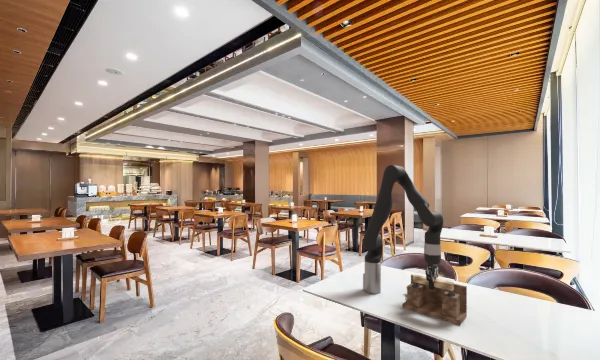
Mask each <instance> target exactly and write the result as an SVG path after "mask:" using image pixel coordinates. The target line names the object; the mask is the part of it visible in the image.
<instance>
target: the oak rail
mask: <svg viewBox="0 0 600 360" xmlns="http://www.w3.org/2000/svg"><path fill="white" fill-rule="evenodd" d="M412 275H413V287H415V288H417V287H418V283H420V284H424V285H429V281H427V279H426V275H425V276H424V275H419V274H412ZM430 279H431V278H430ZM454 284H455V283H454V282H451V281H448V280H443V279H440V278H437V279H434V287H437V288H442V289H446V290H448V296H451V297H454Z"/></svg>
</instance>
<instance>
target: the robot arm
mask: <svg viewBox="0 0 600 360" xmlns="http://www.w3.org/2000/svg"><path fill="white" fill-rule="evenodd" d="M395 183H397V184H398V185H400V187H402V189H403V190H404V192H405V195H406V198H407V199H408V202H409V203H410V205H412V207H413V208H414V209H415V211H416V214H417V215H418V217H419V220H420V221H421V223H422V224H424V226H426V227H428V229H427V230H426V231H425V232H424V246H423V260H424V263H427V267H426V269H425V270H424V272H425V277H426V279H427V281H429V289H431V290H433V289H434V288H436V287H434V279H439V271H440V264H442V246H441V234H442V231H443V227H444V218H443V215H442V214H441V212H439V211H431V209H430V203H429V201H428V200H427V199H426V198H425V196H423V194H422V193H421V192H420V191H419V190H418V188H417V186H415V183H414V182H413V180H412V179H411V178H410V176H409V174H408V172H407V171H406V169H405V168H404V167H403V166H401V165H396V164H389V165H387V166H386V167H385V169H384V171H383V175H382V180H381V184H380V189H379V192H378V196H377V198H376V202H375V204H374V206H373V209H372V214H371V218H370V220H369V223H368V226H367V228H366V231H365V233H364V234H363V238H362V240H361V241H362V242H361V243H362V247H363V249H365V250H366V251H367V253H366V254H365V255H364V273H363V274H362V276H363V277H362V290H363V291H364V292H366V293H369V294H375V295H377V294H380V293H381V290H382V285H381V284H382V274H381V273H382V262H381V261H382V258H383V249H384V244H383V242H384V241H383V238H382V236H381V235H380V231H381V229H382V227H383V226H384V225H385V224H386V222H387V220H388V219H389V217H390V216H391V215H390V214H391V213H392V210H393V194H392V193H393V192H392V191H393V189H394V185H395ZM430 278H431V279H430Z"/></svg>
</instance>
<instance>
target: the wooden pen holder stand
mask: <svg viewBox="0 0 600 360" xmlns="http://www.w3.org/2000/svg"><path fill="white" fill-rule="evenodd" d="M413 275H414V274H410V284H408V285H407V286H406V287H407V288H406V297H407V301H403V303H402V308H403V309H407V310H409V311H412V312H416V313H418V314H419V313H420V314H423V315H426V316H430V317H432V318H436V319H440V320H442V321H445V322H449V323H452V324H455V325H459V326H461V325H462V323H463V322H464V320H465V319H466V318H467V315H468V314H467V312H468V308H467V307H468V305H467V303H468V301H467V295H468V294H467V293H468V292H467V291H468V290H467V289H468V287H467V286H466V285H463V284H462V285H461V284H457V283H454V297H451V296H448V290H446V289H442V288H437V287H436V288H434V289H433V290H431V289H429V285H424V284H420V283H418V287H417V288H415V287H413Z"/></svg>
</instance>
